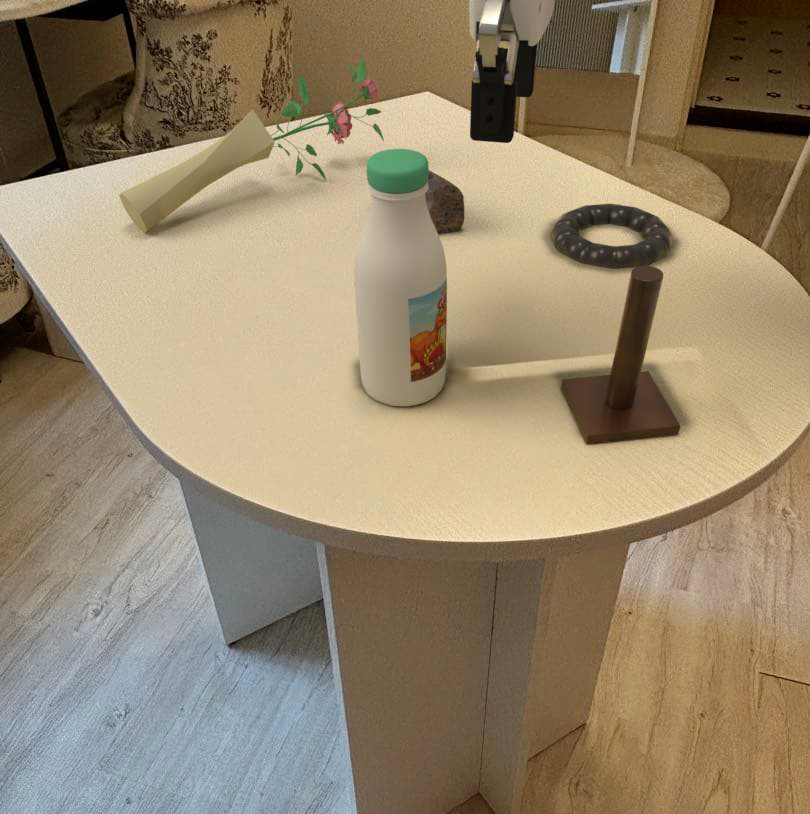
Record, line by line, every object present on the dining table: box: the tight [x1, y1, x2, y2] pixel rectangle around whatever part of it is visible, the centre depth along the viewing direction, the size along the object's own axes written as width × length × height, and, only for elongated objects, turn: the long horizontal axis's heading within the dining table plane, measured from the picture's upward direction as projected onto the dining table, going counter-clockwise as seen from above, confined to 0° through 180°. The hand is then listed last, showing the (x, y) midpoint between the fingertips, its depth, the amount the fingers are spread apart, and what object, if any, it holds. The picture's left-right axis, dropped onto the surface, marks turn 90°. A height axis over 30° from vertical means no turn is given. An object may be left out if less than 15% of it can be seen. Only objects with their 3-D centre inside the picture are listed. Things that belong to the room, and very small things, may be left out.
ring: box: [549, 203, 674, 270], centre depth 88 cm, size 13×13×3 cm
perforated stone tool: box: [425, 170, 465, 235], centre depth 92 cm, size 15×5×7 cm, turn 36°
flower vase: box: [118, 58, 385, 234], centre depth 99 cm, size 12×12×35 cm
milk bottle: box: [353, 148, 448, 407], centre depth 66 cm, size 8×8×20 cm
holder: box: [560, 265, 681, 445], centre depth 65 cm, size 8×8×13 cm
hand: (502, 116), depth 62 cm, fingers open, 9 cm apart
